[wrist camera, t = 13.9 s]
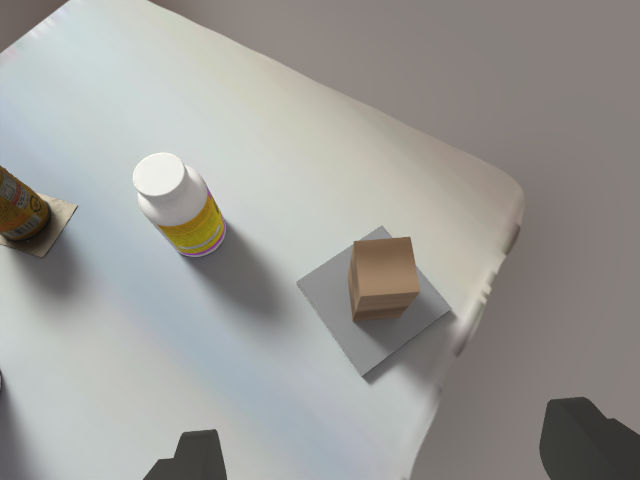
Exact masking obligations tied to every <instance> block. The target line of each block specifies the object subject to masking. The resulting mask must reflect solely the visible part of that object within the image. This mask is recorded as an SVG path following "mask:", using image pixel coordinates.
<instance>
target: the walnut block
mask: <svg viewBox="0 0 640 480" xmlns="http://www.w3.org/2000/svg"><path fill="white" fill-rule="evenodd" d="M348 285H349V294H350V303H351V312H352V321H363V320H375V319H388V318H399V317H400V316H401V315H402V314H403V312H404V311H405V310H406V309H407V308H408V306H409V305H410V304H411V303H412V301H413V300H414V299H415V298H416V296H417V295H418V294H419V293H420V287H419V281H418V276H417V270H416V265H415V260H414V254H413V249H412V243H411V238H410V237H402V238H389V239H376V240H363V241H354V244H353V249H352V255H351V260H350V266H349V271H348Z"/></svg>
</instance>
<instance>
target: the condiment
mask: <svg viewBox="0 0 640 480" xmlns="http://www.w3.org/2000/svg"><path fill="white" fill-rule="evenodd" d="M76 207H77V205H75V204H72V203H68V202H65V201H62V200H59V199H56V198H52V197H49V196H45V195H42V194H39V193H36V192H34V191H33V190H32V189H31V188H29V187H28V186H27V185H25V184H24V183H22V182H21V181H20V180H18V179H17V178H16V177H14V176H13V175H12V174H10V173H9V172H8V171H7V170H6V169H5V168H3V167H1V166H0V244H3V245H6V246H9V247H12V248H15V249H19V250H21V251H24V252H27V253H30V254H33V255H36V256H39V257H42V258H43V257H44V255H45V254H46V252H47V251H48V250H49V249H50V247H51V246H52V244H53V243H54V241H55V240H56V239H57V237H58V235H59V234H60V232H61V231H62V229H63V228H64V227H65V225H66V223H67V221H68V219H69V218H70V217H71V215H72V213H73V212H74V210H75V208H76ZM52 213H54V215H55V218H54V217H53V215H52ZM27 241H29V242H27Z"/></svg>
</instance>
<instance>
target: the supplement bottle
mask: <svg viewBox="0 0 640 480" xmlns="http://www.w3.org/2000/svg"><path fill="white" fill-rule="evenodd" d="M133 183H134V185H135V187H136V189H137V190H138V203H139V207H140V209H141V211H142V212H143V214H144V215H145V216H146V217H147V218H148V219H149V220H150V222H151V223H152V224H153V225H154V226H155V227H156V228H157V229H158V230H159V232H160V233H161V234H162V235H163V236H164V237H165V238H166V239H167V240H168V242H169V243H170V244H171V245H172V246H173V247H174V248H175V249H176V250H177V251H178V252H179V253H181V254H183V255H186V256H189V257H201V256H205V255H207V254H209V253H211V252H213V251H214V250H216V249H217V248H218V247H219V245H220V244H221V243H222V241H223V239H224V237H225V233H226V224H225V220H224V218H223V216H222V214H221V212H220V210H219V208H218V206H217V204H216V203H215V201H214V199H213V197H212V195H211V193H210V191H209V189H208V187H207V185H206V183H205V181H204V180H203V178H202V176H201V175H200V174H199V173H198V172H197V171H196V170H194V169H193V168H191V167H188V166H186V165H184V164H183V162H182V161H181V160H180V159H179V158H178V157H177V156H175V155H173V154H170V153H156V154H152V155H150V156H148V157H146V158H144V159H143V160H142V161H141V162H140V163H139V164H138V165H137V167H136V168H135V170H134V173H133Z"/></svg>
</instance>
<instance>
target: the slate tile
mask: <svg viewBox="0 0 640 480" xmlns="http://www.w3.org/2000/svg"><path fill="white" fill-rule="evenodd" d="M389 238H392V237H391V235H390V234H389V233H388V232H387V231H386V230H385V228H384V227H383V226H380V227H379V228H377V229H376V230H374V231H373V232H371V233H370V234H368V235H367V236H365V237H364V238H362V239H361V240H359V241H363V240H376V239H389ZM352 249H353V245H351V246H350V247H348V248H347V249H345V250H344V251H342V252H341V253H339V254H338V255H336V256H335V257H333V258H332V259H330V260H329V261H327V262H326V263H324V264H323V265H321V266H320V267H318V268H317V269H315V270H314V271H312V272H310V273H309V274H307V275H306V276H304V277H303V278H301V279H300V280H298V281H297V285H298V287H299V288H300V290H301V291H302V292H303V294H304V295H305V297H306V298H307V300H308V301H309V302H310V304H311V305H312V307H313V308H314V310H315V311H316V312H317V314H318V315H319V317H320V318H321V320H322V321H323V322H324V324H325V325H326V327H327V328H328V330H329V331H330V332H331V334H332V335H333V337H334V338H335V340H336V341H337V342H338V344H339V345H340V347H341V348H342V350H343V351H344V352H345V354H346V355H347V357H348V358H349V360H350V361H351V363H352V364H353V365H354V367H355V368H356V370H357V371H358V373H359V374H360V375H361V376H363V375H364V374H365V373H367V372H368V371H369V370H371V369H372V368H373V367H375V366H376V365H377V364H379V363H380V362H381V361H383V360H384V359H385V358H387V357H388V356H389V355H391V354H392V353H393V352H395V351H396V350H397V349H399V348H400V347H401V346H403V345H404V344H405V343H407V342H408V341H409V340H411V339H412V338H413V337H414V336H416V335H417V334H418V333H420V332H421V331H422V330H424V329H425V328H426V327H428V326H429V325H430V324H432V323H433V322H434V321H436V320H437V319H438V318H440V317H441V316H442V315H444V314H445V313H446V312H448V311H449V310H450V309H451V307H450V306H449V305H448V304H447V302H446V301H445V300H444V299H443V298H442V296H441V295H440V294H439V293H438V292H437V290H436V289H435V288H434V287H433V286H432V284H431V283H430V282H429V281H428V280H427V278H426V277H425V276H424V275H423V274H422V273H421V271H420V270H419V269H418V268H417V267H416V270H417V276H418V281H419V287H420V293H419V294H418V295H417V296H416V298H415V299H414V300H413V301H412V303H411V304H410V305H409V306H408V308H407V309H406V310H405V311H404V312H403V314H402V315H401V316H400V317H399V318H388V319H375V320H363V321H352V312H351V303H350V294H349V285H348V271H349V266H350V260H351V255H352Z"/></svg>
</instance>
